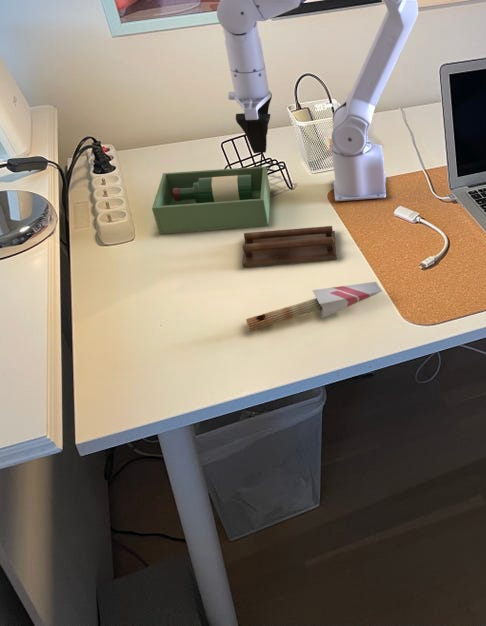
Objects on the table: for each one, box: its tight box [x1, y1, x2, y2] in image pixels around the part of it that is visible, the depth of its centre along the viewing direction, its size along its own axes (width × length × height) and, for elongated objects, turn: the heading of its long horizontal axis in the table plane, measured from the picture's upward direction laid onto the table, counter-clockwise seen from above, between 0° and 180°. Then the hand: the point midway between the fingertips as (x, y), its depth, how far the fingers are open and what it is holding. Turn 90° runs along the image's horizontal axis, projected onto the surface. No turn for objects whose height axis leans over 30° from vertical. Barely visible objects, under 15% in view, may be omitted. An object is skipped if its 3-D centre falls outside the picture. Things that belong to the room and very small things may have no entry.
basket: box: [151, 166, 271, 235], centre depth 129 cm, size 18×13×5 cm
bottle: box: [173, 175, 256, 203], centre depth 130 cm, size 14×5×5 cm, turn 102°
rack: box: [242, 225, 338, 268], centre depth 120 cm, size 15×8×3 cm, turn 102°
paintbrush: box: [245, 281, 383, 332], centre depth 107 cm, size 4×3×20 cm
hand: (260, 143), depth 130 cm, fingers open, 7 cm apart
